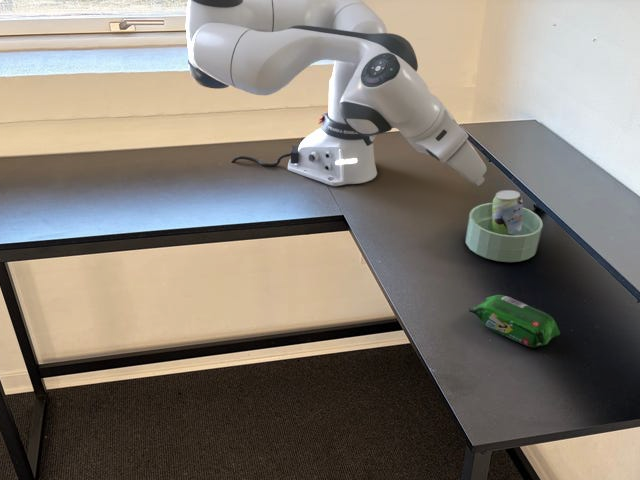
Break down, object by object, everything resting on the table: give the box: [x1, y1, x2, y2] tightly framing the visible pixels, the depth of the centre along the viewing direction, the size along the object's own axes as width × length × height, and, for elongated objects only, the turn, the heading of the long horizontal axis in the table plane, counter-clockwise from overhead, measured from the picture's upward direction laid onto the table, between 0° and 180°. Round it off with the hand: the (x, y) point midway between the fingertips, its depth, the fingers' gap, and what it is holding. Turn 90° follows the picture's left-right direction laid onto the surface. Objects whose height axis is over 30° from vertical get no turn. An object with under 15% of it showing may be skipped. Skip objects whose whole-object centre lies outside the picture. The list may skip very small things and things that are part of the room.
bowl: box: [465, 202, 544, 263], centre depth 155 cm, size 15×15×6 cm
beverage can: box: [492, 189, 524, 236], centre depth 152 cm, size 6×7×12 cm
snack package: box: [468, 294, 561, 348], centre depth 130 cm, size 7×16×5 cm, turn 52°
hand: (467, 171), depth 141 cm, fingers open, 8 cm apart
